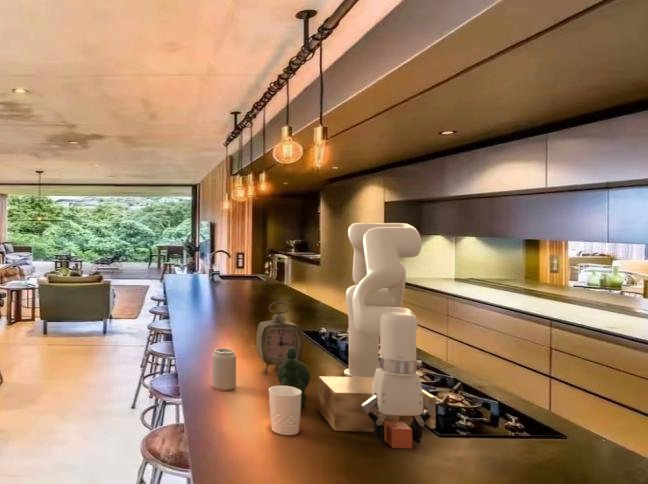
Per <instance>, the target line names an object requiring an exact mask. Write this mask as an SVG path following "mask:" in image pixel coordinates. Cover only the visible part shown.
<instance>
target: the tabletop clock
mask: <svg viewBox="0 0 648 484" xmlns="http://www.w3.org/2000/svg"><path fill="white" fill-rule="evenodd" d="M278 304H280V305H284V306H285V307H286V309H285V310H282V311H281V309H276V310H277V311H274V310H272V309H271V307H272V306H273V305H278ZM268 310H269V311H270V313H273V314H274V315H272V317H271V318H270V320H264V321H261V322H259V324H258V326H257V329H256V340H255V341H256V342H255V343H256V351H257V356H258V357H259V358H260V359H261V361H263V363H265V364H266V365H265V368H264V369H263V370H262V371H263V373H264V374H266V375H267V374H268V373H269V370H268V368H269V366H270V365H271V366H273V368H274V370H275V371H278V369H279V367H280V365H281V364H282V363H283V362H285V361H286V360H288V358H287V350H288V349H289V348H290V347H293V348H295V350H296V358H295V359H294V360H298V361H301V360H302V356H303V346H304V343H303V341H304V340H303V333H302V329H301V327H300V326H299V325H297V324H296V323H294V322H291V321H289V320H287V318H286V317H285V315H283V314H285V313H287V312H288V311H289V305H288V304H287V303H286V302H283V301H274V302H272V303H271V304H269V306H268Z"/></svg>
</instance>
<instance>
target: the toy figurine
mask: <svg viewBox="0 0 648 484" xmlns="http://www.w3.org/2000/svg"><path fill="white" fill-rule="evenodd" d="M287 358H288V360H286V361H285V362H283V363H282V364H281V365H279V369H278V370H277V380H278V382H279V384H280V385H281V386H291V387H295V388H297V389H299V390H301V392H302V393H301V410H302V409H303V408H305V406H306V403H305V401H307V395H306V393H305V392H306V388H307V387H308V386H309V384H310V381H311V373H310V370H309V367H308V366H307V365H306V364H305V363H303V362H302V361H301V360H300V361H298V360H294V359H295V358H296V350H295V348H293V347H290V348H289V349H288V350H287Z"/></svg>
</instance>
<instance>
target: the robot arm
mask: <svg viewBox="0 0 648 484" xmlns="http://www.w3.org/2000/svg"><path fill="white" fill-rule="evenodd" d="M347 237H348V239H349V242H350V243H351V246H352V248H353V261H352V281H353V283H354V284H355V285H351V286H349V287H348V288H347V289H346V292H345V302H346V308H347V318H348V319H347V320H348V368H346V369H344V370H343V375H344V377H374V383H373V392H372V397H371V398H370V399H368V400H367V401H366V402H364V403H363V404H362V405H361V407H362V408H363V410H364V411H365V412H366V414H367V415H368V416H369V417H370V418H371V419H372V420H373V421H374V432H373V435H374V437H375V439H376V440H378V441H379V443H382V444H383V443H384V442H385V440H384V426H383V425H382V423H383V421H384V419H385V418H386V416H387V415H389V416H411V417H412V419H413V421H412V422H411V426H410V428H411V429H412V441H414V442H415V443H416V444H421V441H422V440H421V439H422V438H423V427H424V426H425V424H424V423H425V422H426V421H427V420H428V419H429V418H430V415H432V413H433V412H434V411H435V408H434V407H433V406H432V405H431V404H429V403H428V402H426V401H425V400H424V399H423V394H422V389H423V386H422V381H421V377H420V373H419V372H418V368H422V366H423V363H422V361H421V360H418V359H417V331H418V330H417V329H418V318H417V316H416V314H414V312H413V310H411V309H409V308H406V307H403V303H404V295H405V287H406V280H407V272H406V267H405V264H404V263H403V262H402V261H401V259H400V258H415V257H418V256H419V255H420V253H421V251H422V238H421V235H420V232H419V231H418V230H417V228H416V227H414V226H413V225H411V224H409V223H404V222H402V223H401V222H382V223H381V222H354V223H351V225H350V226H349V227H348V230H347ZM372 406H373V407H374V408H375V409H377V410H376V412H375V413H374V414H373V413H372V411H371V410H370V408H371V407H372ZM423 406H424V407H425V410H424V411H423Z"/></svg>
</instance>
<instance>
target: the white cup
mask: <svg viewBox="0 0 648 484" xmlns="http://www.w3.org/2000/svg"><path fill="white" fill-rule="evenodd" d="M301 393H302V392H301V390H299V389H297V388H295V387H291V386H281V384H280V385H273V386H270V387H269V388H268V398H269V399H268V400H269V417H270V428H271V431H273V432H274V433H275V434H278V435H282V436H294V435H297V434H298V433H299V432H300V422H301V411H302V409H301Z"/></svg>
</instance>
